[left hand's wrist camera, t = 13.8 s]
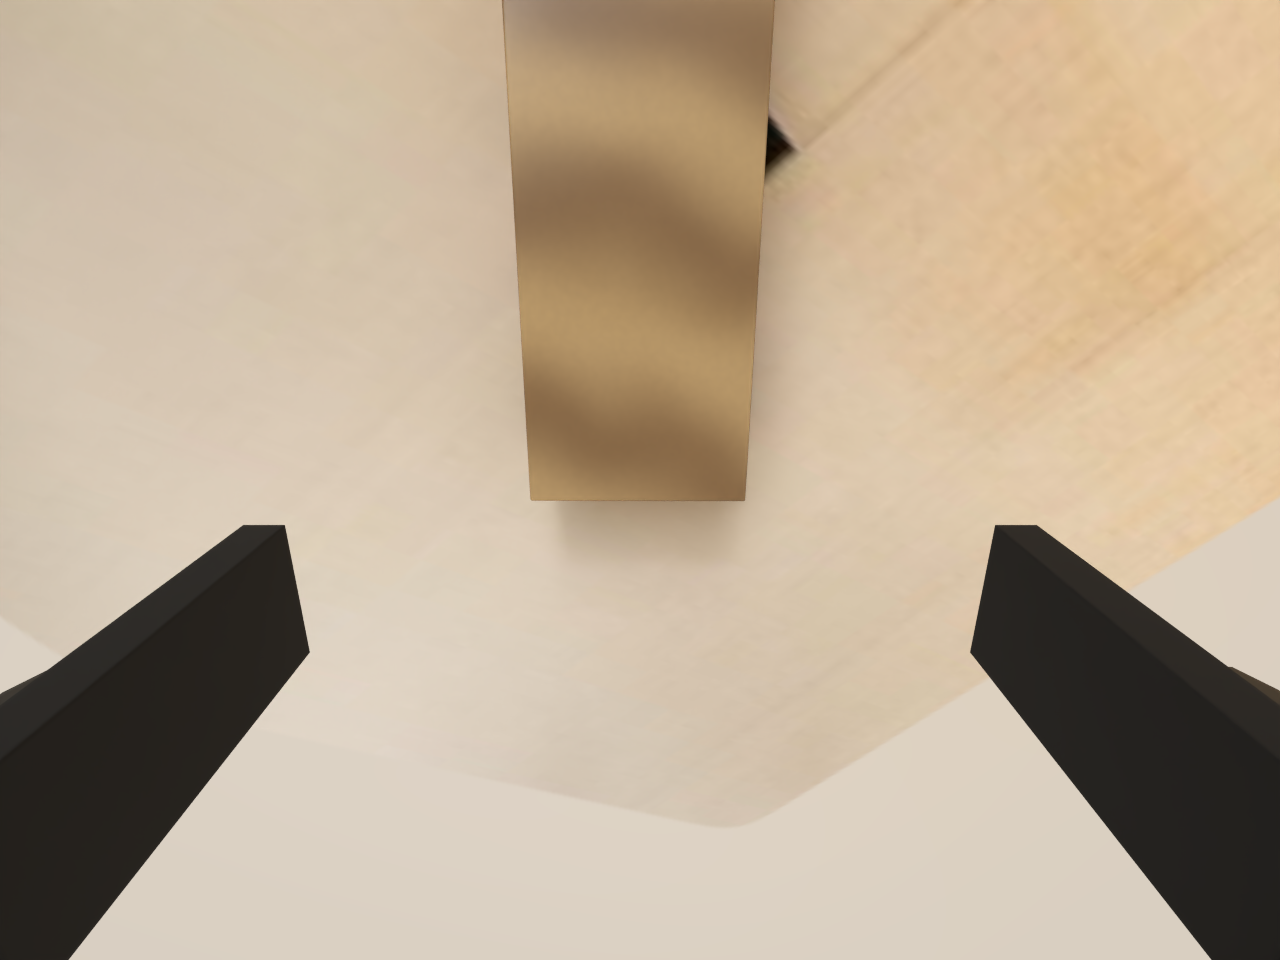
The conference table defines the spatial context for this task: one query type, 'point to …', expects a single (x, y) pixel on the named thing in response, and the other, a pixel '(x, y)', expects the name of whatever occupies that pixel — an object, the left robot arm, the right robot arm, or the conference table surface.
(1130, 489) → the conference table surface
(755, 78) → the beam
